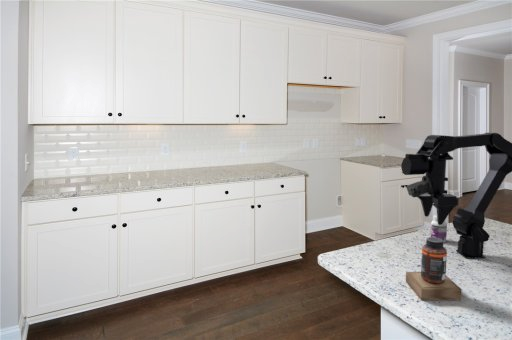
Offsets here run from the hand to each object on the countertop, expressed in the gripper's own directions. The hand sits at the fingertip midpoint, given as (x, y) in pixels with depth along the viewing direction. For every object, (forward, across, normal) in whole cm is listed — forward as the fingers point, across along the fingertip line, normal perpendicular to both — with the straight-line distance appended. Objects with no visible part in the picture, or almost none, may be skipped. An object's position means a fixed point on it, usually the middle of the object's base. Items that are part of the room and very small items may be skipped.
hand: (433, 220), depth 110 cm
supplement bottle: (+10, +22, -10) cm, 26 cm away
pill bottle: (+13, -16, +10) cm, 23 cm away
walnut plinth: (+13, +22, -10) cm, 27 cm away
